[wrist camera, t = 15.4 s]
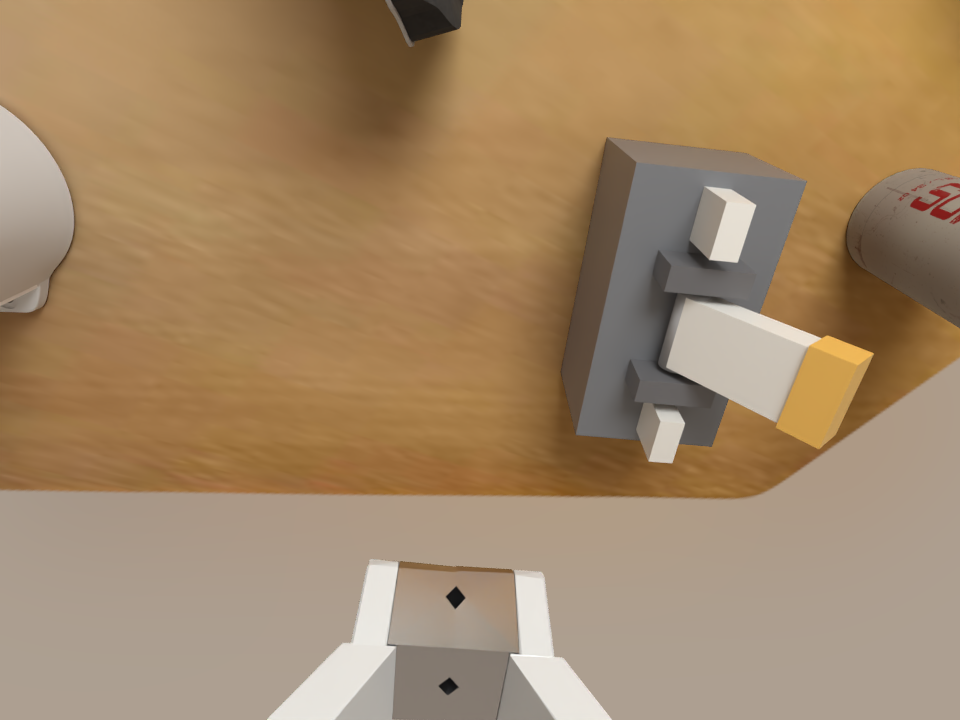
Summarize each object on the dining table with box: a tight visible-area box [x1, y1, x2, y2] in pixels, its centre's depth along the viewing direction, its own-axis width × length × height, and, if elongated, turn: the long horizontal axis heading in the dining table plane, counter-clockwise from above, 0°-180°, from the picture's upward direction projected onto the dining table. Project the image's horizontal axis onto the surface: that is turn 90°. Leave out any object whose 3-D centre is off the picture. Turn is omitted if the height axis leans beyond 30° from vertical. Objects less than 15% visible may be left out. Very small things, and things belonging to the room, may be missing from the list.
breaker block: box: [561, 138, 807, 463], centre depth 41 cm, size 10×19×13 cm, turn 174°
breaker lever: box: [658, 293, 874, 449], centre depth 35 cm, size 2×5×11 cm
